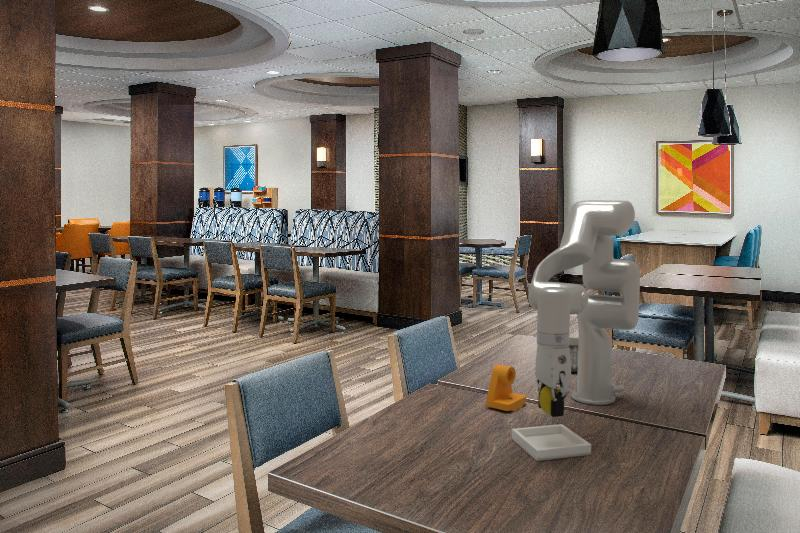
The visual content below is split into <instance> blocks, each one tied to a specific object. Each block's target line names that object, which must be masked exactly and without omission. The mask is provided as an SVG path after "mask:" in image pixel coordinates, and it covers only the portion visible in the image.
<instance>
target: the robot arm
mask: <svg viewBox="0 0 800 533" xmlns="http://www.w3.org/2000/svg"><path fill="white" fill-rule="evenodd" d="M635 217H636V210H635V207H634V205H633V204H632V202H631V201H628V200H604V199H601V200H600V199H599V200H597V199H593V200H592V199H588V200H587V199H585V200H580V201H579V200H578V201H576V202H574V203H573V204H572V206H571V207H570V211H569V213H568V216H567V220H566V223H565V227H564V231H563V233H562V238H561V240H560V244H559V247H558V248H556V249H554V251H552V252H550V253H549V254H548V255H547V256H546V257H545V258H544V259H543V260H541V261H540V262H539V263H538V265H537V266H536V268H535V270H534V272H533V276H532V279H531V283H530V285H529V290H528V297H527V298H528V304H529V305H530V308H532V309H533V310H535V311H537V316H536V318H537V321H536V345H537V347H536V354H535V368H534V370H535V371H534V372H535V374H534V375H535V378H536V383H537V391H538V396H537V398H538V402H537V407H538V408H539V409H542V408H541V406H540V403H539V397H540V392H541V390H542V389H543V388H544V387H545V386H546V385H547V386H549V387H550V388H551V390H552V398H553V400H551V416H550V417H551V418H557V417H558V418H559V417H563V416H564V415H565V401H566V397H567V395H568V394H569V393H570V388H571V386H572V373H571V358H570V350H569V347H568V346H569V337H570V326H571V325H570V323H571V321H570V319H571V317H570V316H571V315H576V317H577V326H578V328H577V329H578V338H579V344H578V372H577V378H576V379H577V381H576V382H577V384H576V389H574V390H573V391H572V392H571V398H572V399H573V400H575V401H577V402H578V403H583V404H586V405H595V406H598V405H599V406H602V405H603V406H605V405H610V404H613V403H614V402H615V401H616V395H614V394H616V393H620V392H621V393H622V392H625V390H626V388H625V386H624V385H623V384H619V385H616V383H611V375H612V351H613V350H612V348H613V344H612V339H611V337H610V335H609V334H608V332H607V331H606V330H605V329H615V330H623V331H624V330H625V331H630V330H634V329H635V328H636V326H638V322H639V316H640V314H639V313H640V291H641V290H640V288H641V274H640V268H639V266H638V264H637V263H636V262H635V261H633V260H630V259H616V258H614V240H613V238H612V237H613V236H614V237H617V236H619V237H620V236H621V235H623V234H625V233H626V232H628V231H630V229H631V228H632V227H633V224H634V223H635V219H636V218H635ZM579 266H582V283H583V286H582V285H580V284H577V283H570V282H568V283H566V282H558V281H556V282H555V281H554V282H553V281H549V280H551V278H553V277H554V276H555V275H557V274H560V273H562V272H565V271H567V270H570V269H573V268H576V267H579ZM586 289H588V290H592V291H599V292H600V291H601V292H612V293H620V296H619V295H617V296H615V295H607V294H606V295H605V294H588V292H587V290H586ZM557 385H559V386H557ZM556 390H560V392H558V393H557V395H556Z"/></svg>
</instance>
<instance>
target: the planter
mask: <svg viewBox="0 0 800 533" xmlns="http://www.w3.org/2000/svg"><path fill="white" fill-rule="evenodd" d="M578 344H579V337H574V336H569V346H568V347H569V350H570V358H571V372H576V373H578Z"/></svg>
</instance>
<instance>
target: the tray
mask: <svg viewBox="0 0 800 533" xmlns="http://www.w3.org/2000/svg"><path fill="white" fill-rule="evenodd" d="M511 440H513V441H514V443H516V444H517V445H518V446H519V447H520V448H521V449H522V450H524V452H526V453H527V454H528V455H529V456H530V457H531V458H533V459H534V460H535V461H536V462H539V461H540V462H541V461H548V460H558V459H559V460H560V459H566V458H568V459H569V458H573V457H574V458H575V457H582V456H583V457H584V456H591V455H592V444H591V443H590V442H588V441H587V440H585V439H584V438H583V437H581V436H580V435H579V434H577V433H576V432H574V431H572V430H571V429H570V428H568V427H567V426H566V425H564V424H563V423H562V424H561V423H559V424H550V425H549V424H548V425H541V426H540V425H539V426H530V427H519V428H518V427H517V428H511Z"/></svg>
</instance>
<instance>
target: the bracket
mask: <svg viewBox="0 0 800 533" xmlns="http://www.w3.org/2000/svg"><path fill="white" fill-rule="evenodd" d="M515 379H516V369H515V367H514V366H511V365H504V364H499V363H497V364H496V365H494V367H493V368H492V371H491V377H490V381H489V382H490V383H489V384H488V385H489V386H488V391H487V395H486V407H489V408H491V409H492V408H493V409H498V410H500V411H504V412H512V413H513V412H515V411H517V410H519V409H521V408H523V407H524V405H525V404H526V403H527V396H526V395H525V394H520V393H517V392H513V388H512V385H513V384H514V382H515Z"/></svg>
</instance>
